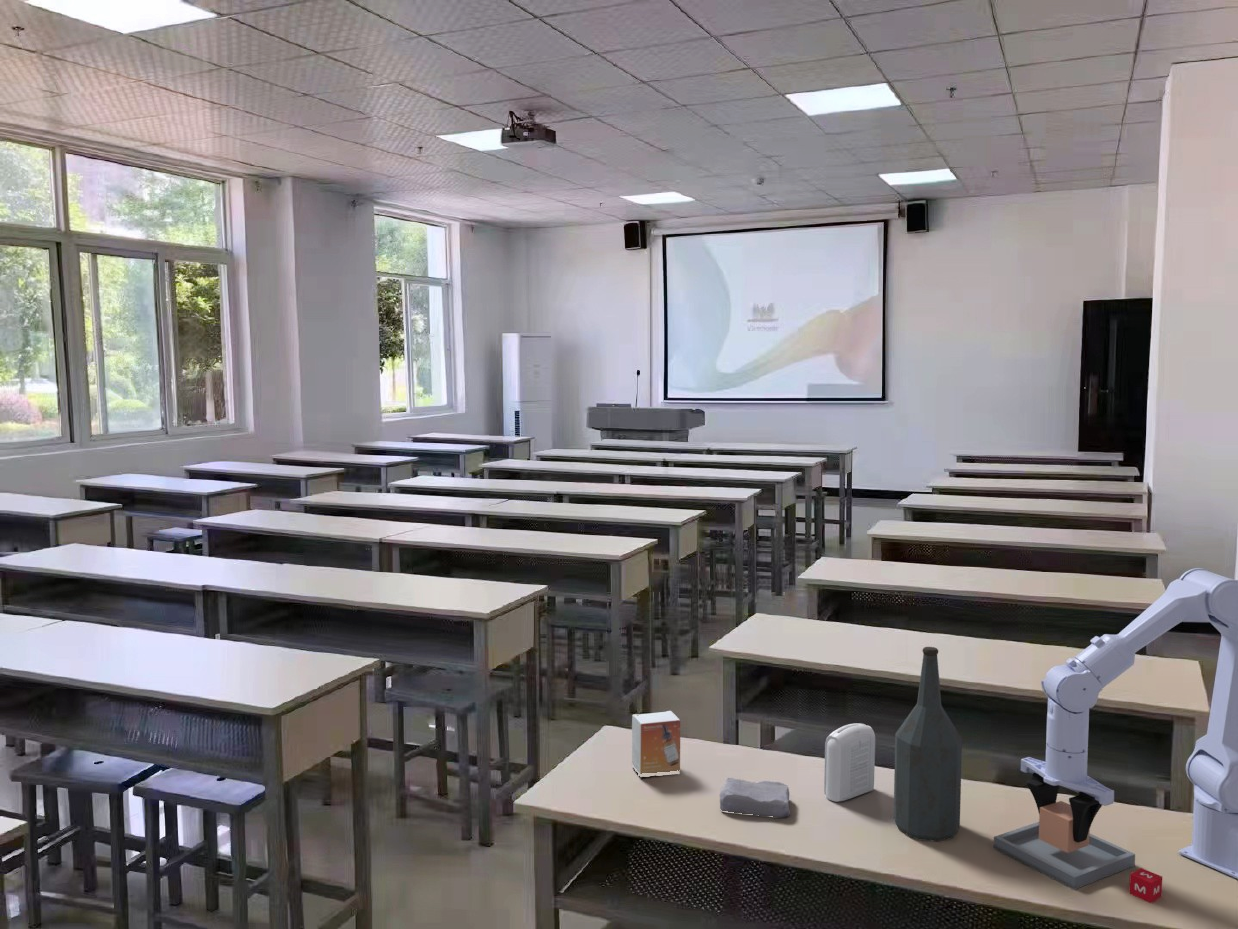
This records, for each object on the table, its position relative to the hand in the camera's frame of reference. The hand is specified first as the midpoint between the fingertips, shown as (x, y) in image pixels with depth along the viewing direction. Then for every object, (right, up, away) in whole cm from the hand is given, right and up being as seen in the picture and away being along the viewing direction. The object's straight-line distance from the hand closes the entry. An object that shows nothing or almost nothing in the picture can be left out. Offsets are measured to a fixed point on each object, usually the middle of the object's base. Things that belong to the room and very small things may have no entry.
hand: (1063, 832), depth 145 cm
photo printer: (-27, -2, +23) cm, 36 cm away
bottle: (-18, -3, +10) cm, 21 cm away
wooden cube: (0, -2, 0) cm, 2 cm away
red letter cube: (+7, -5, -11) cm, 13 cm away
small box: (-61, -2, +33) cm, 69 cm away
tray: (0, -4, 0) cm, 4 cm away
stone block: (-44, -3, +19) cm, 48 cm away
